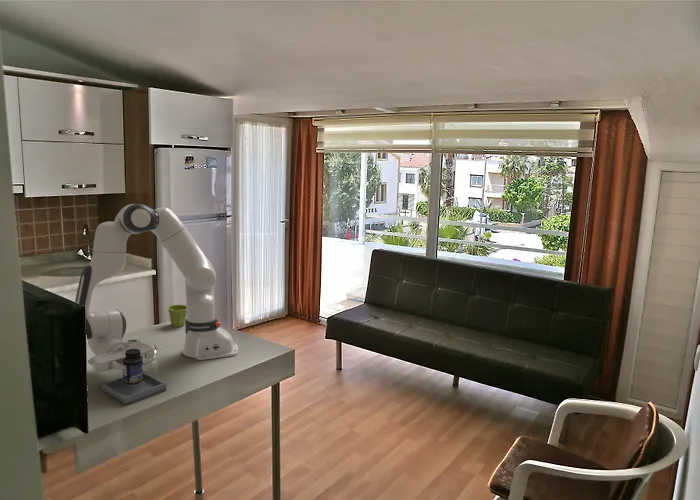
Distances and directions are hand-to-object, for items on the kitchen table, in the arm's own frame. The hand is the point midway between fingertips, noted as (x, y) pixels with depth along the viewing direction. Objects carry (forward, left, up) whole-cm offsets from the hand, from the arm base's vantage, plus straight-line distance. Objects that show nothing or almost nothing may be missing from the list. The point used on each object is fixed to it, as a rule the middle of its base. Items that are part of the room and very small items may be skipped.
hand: (134, 364), depth 173 cm
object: (-12, -68, -10) cm, 69 cm away
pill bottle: (+1, -1, -6) cm, 7 cm away
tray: (0, -1, -10) cm, 10 cm away
